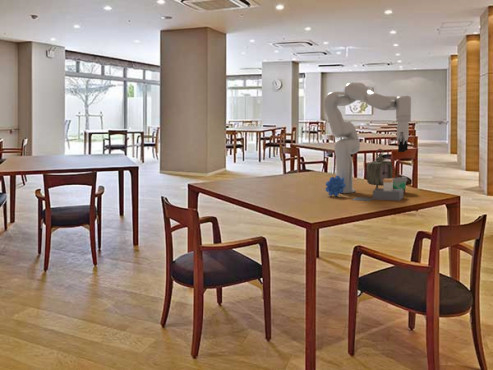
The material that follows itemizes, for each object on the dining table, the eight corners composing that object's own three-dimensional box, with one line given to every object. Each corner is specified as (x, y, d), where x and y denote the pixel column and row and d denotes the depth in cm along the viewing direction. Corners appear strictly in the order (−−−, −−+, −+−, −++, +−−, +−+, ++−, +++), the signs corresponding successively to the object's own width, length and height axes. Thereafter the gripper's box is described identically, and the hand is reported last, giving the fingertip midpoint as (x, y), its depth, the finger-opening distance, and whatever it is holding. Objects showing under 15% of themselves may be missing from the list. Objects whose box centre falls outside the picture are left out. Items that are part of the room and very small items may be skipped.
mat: (351, 201, 264) (351, 199, 264) (356, 197, 272) (356, 196, 272) (369, 202, 259) (369, 200, 259) (374, 198, 268) (374, 197, 268)
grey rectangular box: (372, 200, 264) (372, 190, 263) (377, 197, 273) (377, 188, 272) (399, 201, 257) (399, 192, 257) (403, 198, 266) (403, 189, 265)
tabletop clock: (378, 192, 288) (378, 150, 284) (365, 191, 295) (365, 149, 291) (392, 189, 297) (392, 148, 294) (379, 188, 304) (380, 147, 300)
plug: (383, 198, 264) (383, 179, 263) (384, 197, 268) (385, 178, 267) (391, 199, 262) (391, 179, 261) (393, 197, 266) (393, 178, 264)
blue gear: (347, 195, 282) (347, 174, 281) (344, 197, 276) (344, 176, 274) (327, 194, 287) (326, 174, 285) (324, 196, 280) (324, 175, 279)
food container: (399, 196, 273) (399, 178, 272) (389, 195, 278) (389, 177, 276) (411, 193, 281) (411, 176, 279) (402, 192, 285) (402, 175, 284)
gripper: (398, 119, 272) (398, 150, 274) (393, 119, 256) (392, 152, 259) (413, 118, 268) (412, 150, 271) (408, 119, 253) (407, 152, 255)
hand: (403, 151), depth 265 cm, fingers open, 9 cm apart
